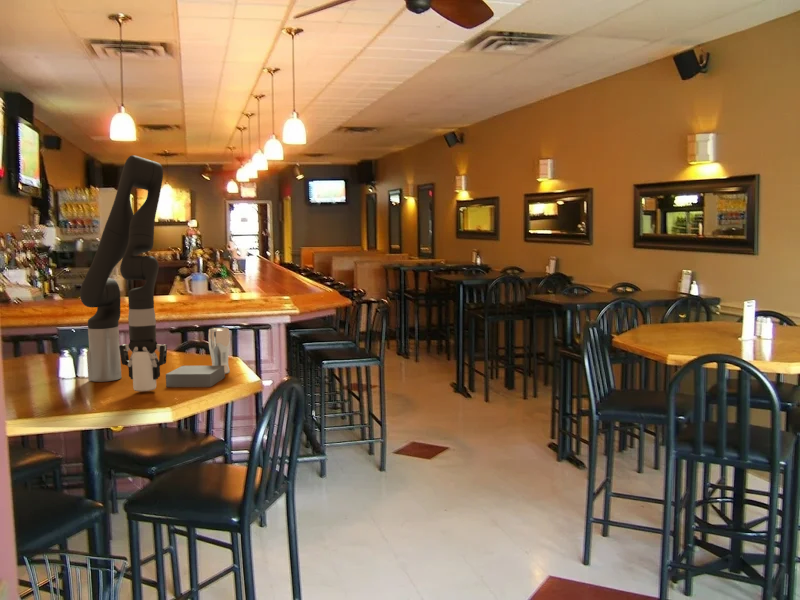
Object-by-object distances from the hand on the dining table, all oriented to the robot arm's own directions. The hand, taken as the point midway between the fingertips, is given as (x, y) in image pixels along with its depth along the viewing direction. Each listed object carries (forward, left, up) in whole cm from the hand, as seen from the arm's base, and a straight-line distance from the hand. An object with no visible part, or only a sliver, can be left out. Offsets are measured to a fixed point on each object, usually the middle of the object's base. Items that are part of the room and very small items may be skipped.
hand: (144, 378), depth 212 cm
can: (0, 0, -3) cm, 3 cm away
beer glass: (+14, +29, -4) cm, 32 cm away
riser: (+11, +14, -4) cm, 18 cm away
